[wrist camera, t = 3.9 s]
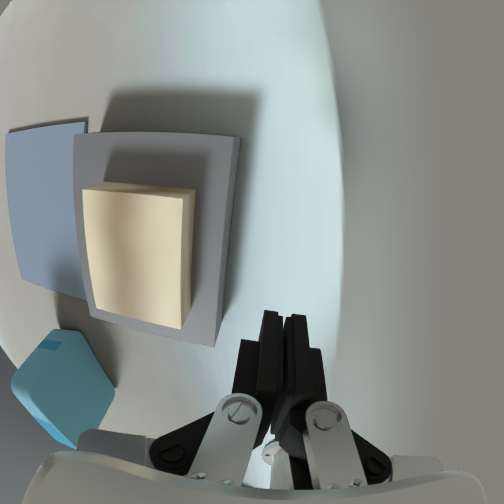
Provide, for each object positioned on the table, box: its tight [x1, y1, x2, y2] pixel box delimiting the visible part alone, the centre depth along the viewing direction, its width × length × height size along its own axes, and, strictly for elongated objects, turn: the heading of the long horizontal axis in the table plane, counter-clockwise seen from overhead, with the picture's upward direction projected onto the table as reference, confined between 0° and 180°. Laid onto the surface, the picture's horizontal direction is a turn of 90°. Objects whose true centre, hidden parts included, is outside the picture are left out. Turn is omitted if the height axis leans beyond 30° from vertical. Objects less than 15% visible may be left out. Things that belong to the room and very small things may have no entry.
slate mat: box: [5, 122, 87, 301], centre depth 22 cm, size 13×18×1 cm
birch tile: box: [82, 182, 196, 329], centre depth 18 cm, size 7×9×2 cm
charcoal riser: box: [73, 131, 241, 347], centre depth 20 cm, size 12×16×4 cm
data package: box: [11, 329, 115, 449], centre depth 25 cm, size 12×4×12 cm, turn 9°
